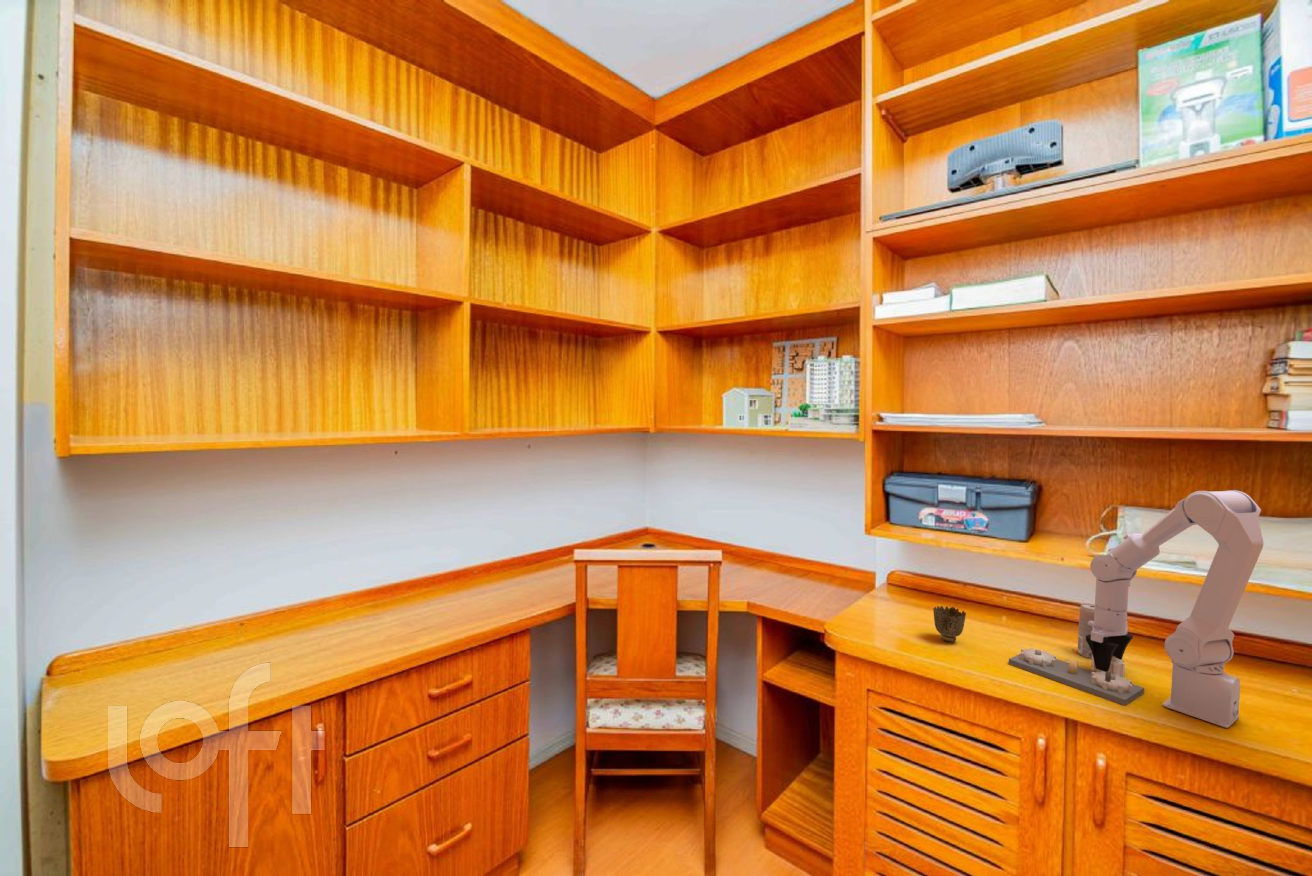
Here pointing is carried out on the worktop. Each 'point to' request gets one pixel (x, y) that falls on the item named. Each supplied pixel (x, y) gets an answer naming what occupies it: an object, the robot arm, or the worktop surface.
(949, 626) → the cup
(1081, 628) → the energy drink
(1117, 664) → the loose gear
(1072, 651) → the worktop surface
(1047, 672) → the gear board
